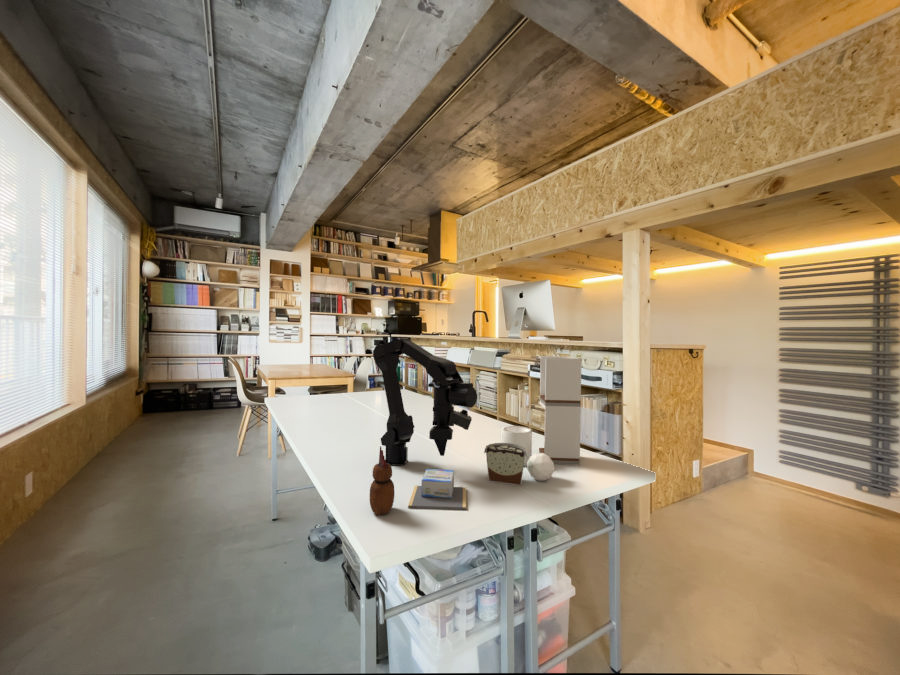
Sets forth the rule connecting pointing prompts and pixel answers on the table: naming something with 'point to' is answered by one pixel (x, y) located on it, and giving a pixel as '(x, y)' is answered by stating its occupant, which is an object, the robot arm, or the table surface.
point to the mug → (518, 438)
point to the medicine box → (437, 483)
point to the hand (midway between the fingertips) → (442, 455)
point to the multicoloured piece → (505, 463)
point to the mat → (439, 500)
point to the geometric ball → (540, 466)
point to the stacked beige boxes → (561, 408)
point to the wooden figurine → (382, 487)
